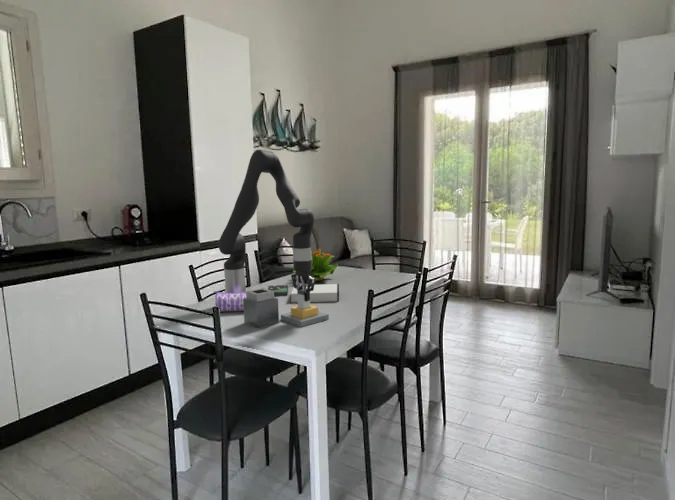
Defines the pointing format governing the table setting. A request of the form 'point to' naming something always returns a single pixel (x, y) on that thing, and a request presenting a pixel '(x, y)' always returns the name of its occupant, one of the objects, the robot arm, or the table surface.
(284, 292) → the disk drive
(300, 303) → the plug
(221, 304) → the pencil case
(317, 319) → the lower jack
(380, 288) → the table surface
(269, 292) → the grey open sleeve
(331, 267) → the potted flower
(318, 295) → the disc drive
